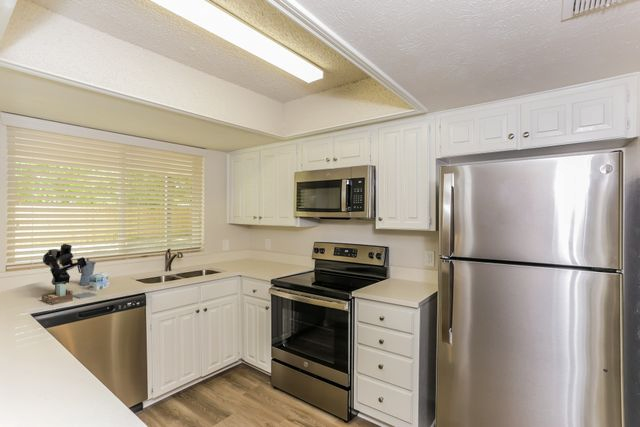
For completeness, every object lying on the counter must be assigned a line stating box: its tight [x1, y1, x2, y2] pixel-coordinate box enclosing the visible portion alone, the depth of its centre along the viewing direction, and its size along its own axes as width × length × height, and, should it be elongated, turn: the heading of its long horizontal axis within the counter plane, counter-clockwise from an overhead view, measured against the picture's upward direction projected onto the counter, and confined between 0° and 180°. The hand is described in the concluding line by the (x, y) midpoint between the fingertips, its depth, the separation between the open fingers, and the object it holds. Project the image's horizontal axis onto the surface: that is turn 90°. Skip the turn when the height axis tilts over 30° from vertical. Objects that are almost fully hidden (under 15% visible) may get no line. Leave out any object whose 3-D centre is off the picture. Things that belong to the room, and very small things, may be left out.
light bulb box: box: [89, 272, 110, 291], centre depth 237 cm, size 11×7×11 cm, turn 168°
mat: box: [73, 291, 98, 299], centre depth 217 cm, size 12×10×1 cm
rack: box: [41, 288, 74, 306], centre depth 204 cm, size 16×10×6 cm, turn 58°
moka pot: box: [76, 258, 96, 286], centre depth 250 cm, size 10×15×20 cm, turn 89°
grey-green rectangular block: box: [56, 283, 67, 296], centre depth 206 cm, size 6×3×10 cm, turn 58°
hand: (73, 273), depth 210 cm, fingers open, 9 cm apart
